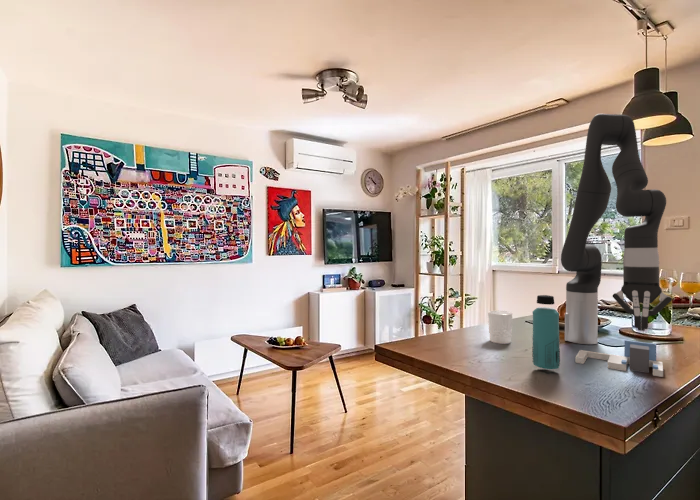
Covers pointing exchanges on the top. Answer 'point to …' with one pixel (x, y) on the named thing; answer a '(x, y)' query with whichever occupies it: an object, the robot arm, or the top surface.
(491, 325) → the white cup
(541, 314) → the beverage bottle
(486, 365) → the top surface
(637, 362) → the plug
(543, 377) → the top surface
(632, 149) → the robot arm
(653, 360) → the white prong rack
